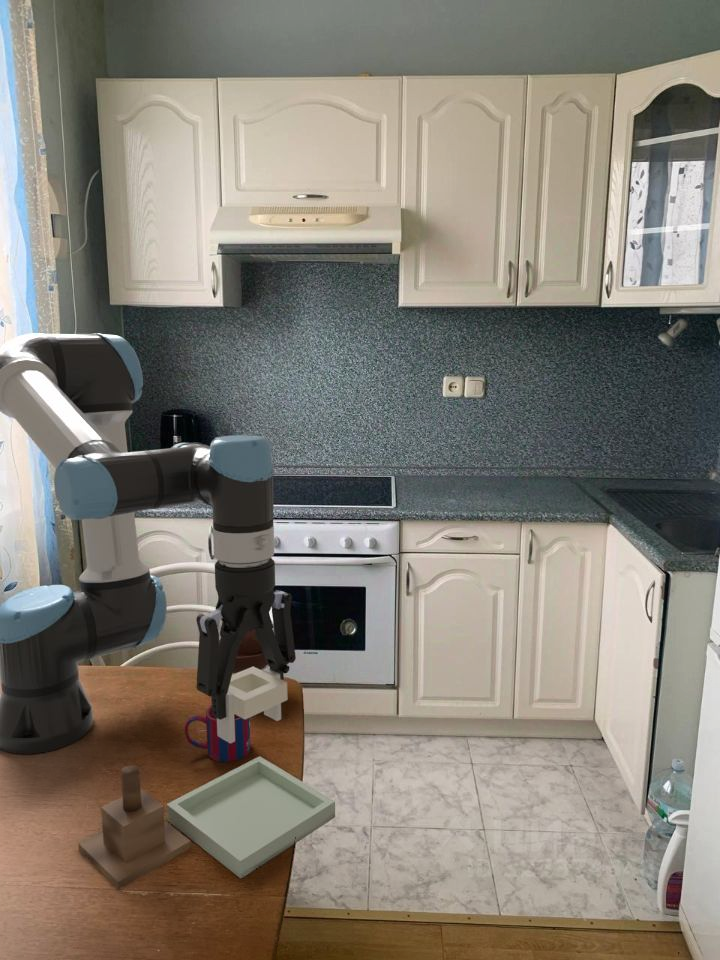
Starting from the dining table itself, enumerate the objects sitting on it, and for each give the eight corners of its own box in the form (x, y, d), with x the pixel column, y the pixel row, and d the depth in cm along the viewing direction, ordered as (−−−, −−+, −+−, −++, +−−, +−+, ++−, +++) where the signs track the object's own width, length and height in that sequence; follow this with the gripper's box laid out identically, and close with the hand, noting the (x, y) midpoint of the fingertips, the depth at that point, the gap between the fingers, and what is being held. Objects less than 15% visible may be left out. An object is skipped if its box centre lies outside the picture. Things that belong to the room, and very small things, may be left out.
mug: (250, 760, 114) (248, 720, 113) (183, 765, 113) (181, 723, 111) (251, 738, 120) (250, 699, 119) (188, 741, 119) (186, 702, 118)
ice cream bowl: (210, 707, 130) (207, 627, 127) (224, 679, 141) (221, 604, 138) (270, 709, 130) (269, 628, 127) (279, 680, 141) (278, 605, 138)
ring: (244, 719, 92) (244, 700, 91) (211, 701, 97) (210, 683, 96) (287, 699, 97) (287, 682, 96) (253, 683, 102) (253, 666, 101)
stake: (78, 849, 94) (72, 771, 92) (148, 813, 101) (144, 740, 99) (118, 889, 87) (113, 805, 85) (190, 847, 94) (187, 769, 92)
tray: (167, 820, 100) (166, 804, 99) (259, 770, 111) (259, 756, 111) (240, 878, 89) (240, 861, 89) (335, 817, 101) (335, 801, 100)
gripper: (195, 584, 84) (203, 769, 88) (322, 548, 98) (324, 709, 102) (158, 570, 89) (168, 746, 93) (284, 538, 103) (288, 692, 107)
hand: (250, 727), depth 97 cm, fingers closed on ring, 7 cm apart
